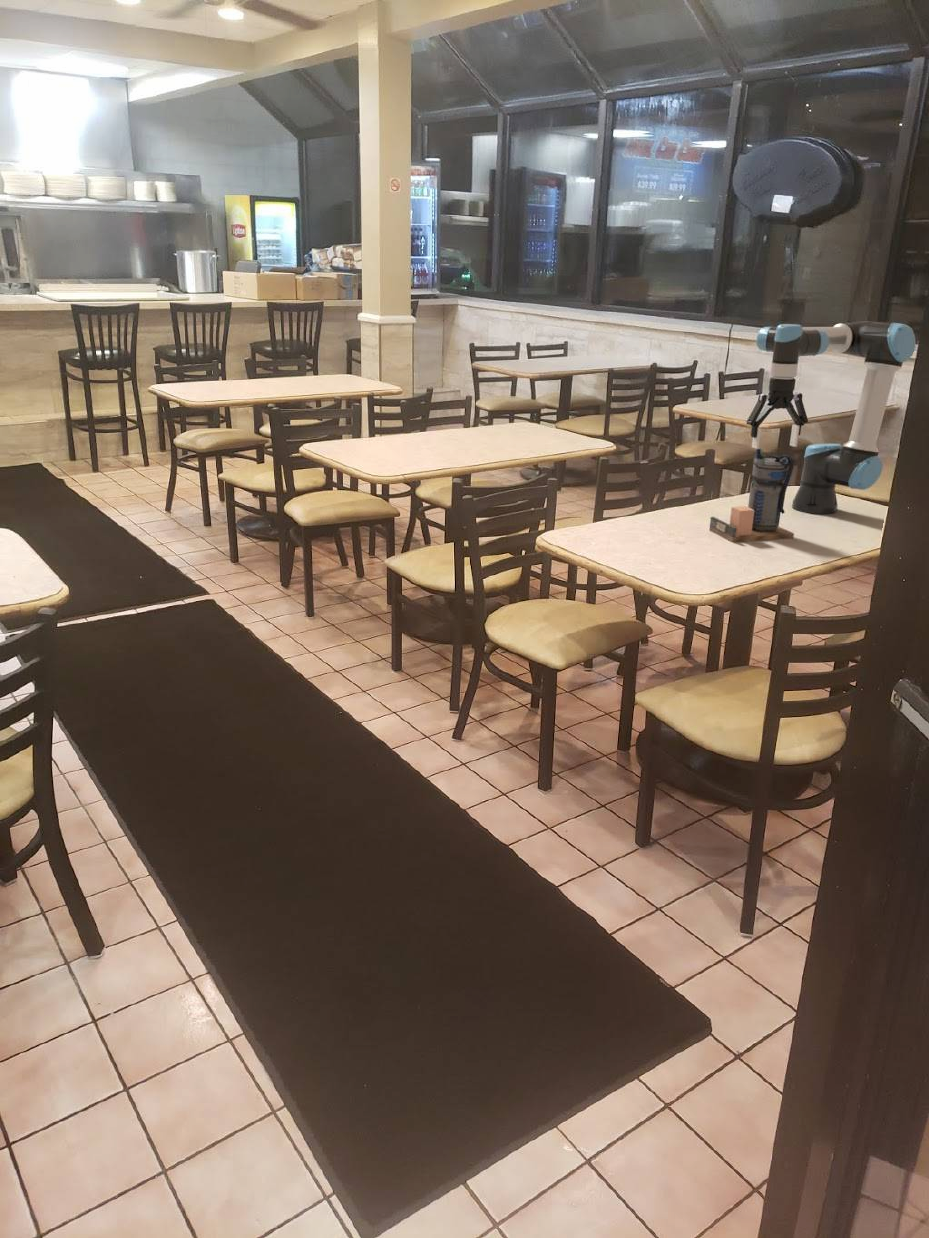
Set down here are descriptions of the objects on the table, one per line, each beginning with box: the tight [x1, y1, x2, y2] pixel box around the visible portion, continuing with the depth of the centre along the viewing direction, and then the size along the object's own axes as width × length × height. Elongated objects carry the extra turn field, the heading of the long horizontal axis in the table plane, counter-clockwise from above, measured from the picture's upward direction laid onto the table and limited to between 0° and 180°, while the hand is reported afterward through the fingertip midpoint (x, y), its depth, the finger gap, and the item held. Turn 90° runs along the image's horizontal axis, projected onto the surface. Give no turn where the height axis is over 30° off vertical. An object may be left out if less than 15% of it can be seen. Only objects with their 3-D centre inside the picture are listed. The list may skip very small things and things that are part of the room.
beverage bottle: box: [747, 448, 796, 531], centre depth 302 cm, size 10×13×25 cm
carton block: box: [729, 505, 754, 536], centre depth 300 cm, size 5×5×8 cm
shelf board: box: [708, 516, 795, 543], centre depth 305 cm, size 22×14×4 cm, turn 106°
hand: (774, 447), depth 297 cm, fingers open, 13 cm apart
